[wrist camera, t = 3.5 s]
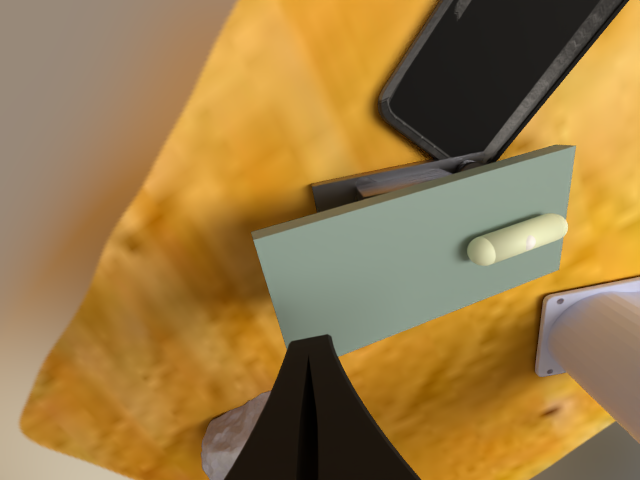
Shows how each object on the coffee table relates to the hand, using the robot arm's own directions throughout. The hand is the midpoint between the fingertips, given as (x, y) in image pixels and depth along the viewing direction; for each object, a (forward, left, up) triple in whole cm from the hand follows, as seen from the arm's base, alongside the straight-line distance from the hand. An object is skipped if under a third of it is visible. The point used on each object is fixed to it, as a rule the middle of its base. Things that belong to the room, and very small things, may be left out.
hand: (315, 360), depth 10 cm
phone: (-13, -10, -11) cm, 19 cm away
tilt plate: (-6, 0, -6) cm, 8 cm away
